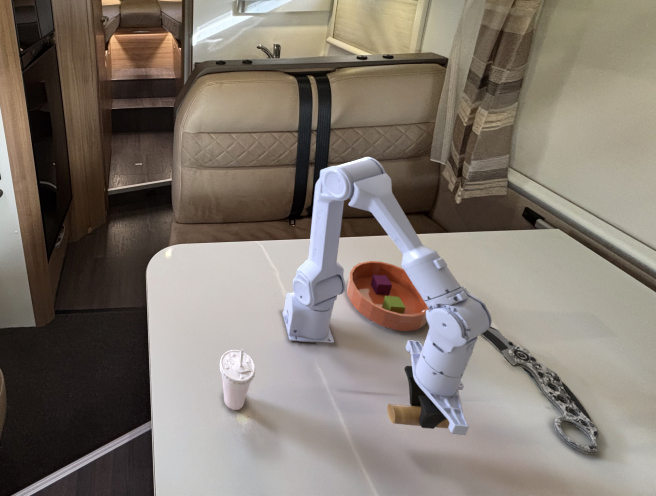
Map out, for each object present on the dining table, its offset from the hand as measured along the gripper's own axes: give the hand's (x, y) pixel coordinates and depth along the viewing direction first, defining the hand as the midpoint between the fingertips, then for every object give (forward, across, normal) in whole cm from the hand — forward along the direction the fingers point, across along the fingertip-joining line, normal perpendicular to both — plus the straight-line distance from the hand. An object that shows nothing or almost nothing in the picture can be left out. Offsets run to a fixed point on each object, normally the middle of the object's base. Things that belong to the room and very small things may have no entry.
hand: (421, 415), depth 73 cm
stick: (+2, 0, 0) cm, 2 cm away
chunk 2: (+5, +28, -8) cm, 29 cm away
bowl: (+6, +31, -8) cm, 32 cm away
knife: (+6, +14, -28) cm, 32 cm away
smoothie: (+6, +4, +31) cm, 32 cm away
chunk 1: (+5, +34, -8) cm, 36 cm away
